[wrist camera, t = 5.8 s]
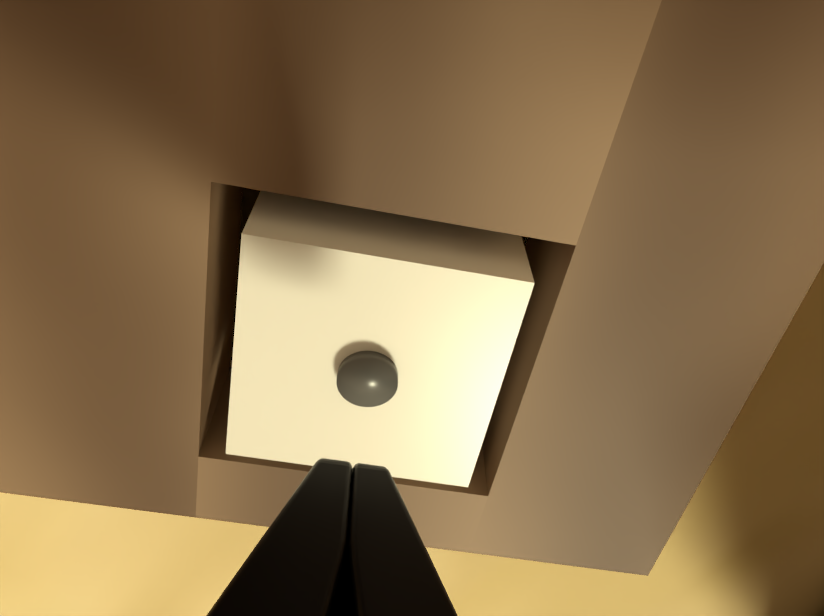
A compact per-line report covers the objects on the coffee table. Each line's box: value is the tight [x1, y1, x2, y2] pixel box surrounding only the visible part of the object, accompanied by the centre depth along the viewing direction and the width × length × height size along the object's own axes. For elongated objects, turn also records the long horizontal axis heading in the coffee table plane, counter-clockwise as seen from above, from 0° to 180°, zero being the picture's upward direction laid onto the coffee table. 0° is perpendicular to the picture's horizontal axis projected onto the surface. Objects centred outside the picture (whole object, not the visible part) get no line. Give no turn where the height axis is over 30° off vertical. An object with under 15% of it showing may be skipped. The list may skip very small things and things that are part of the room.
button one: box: [226, 191, 535, 487], centre depth 12 cm, size 4×4×3 cm
